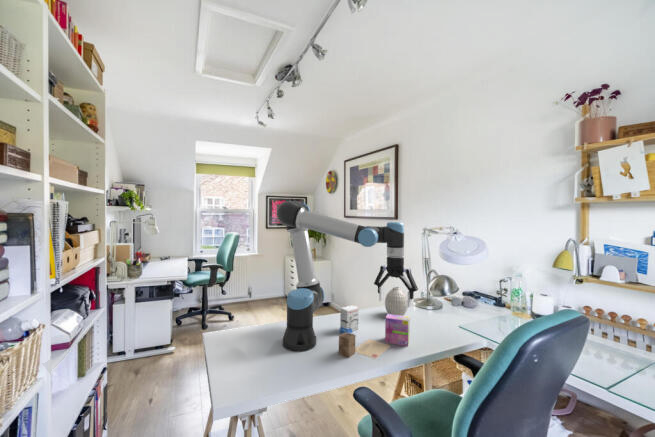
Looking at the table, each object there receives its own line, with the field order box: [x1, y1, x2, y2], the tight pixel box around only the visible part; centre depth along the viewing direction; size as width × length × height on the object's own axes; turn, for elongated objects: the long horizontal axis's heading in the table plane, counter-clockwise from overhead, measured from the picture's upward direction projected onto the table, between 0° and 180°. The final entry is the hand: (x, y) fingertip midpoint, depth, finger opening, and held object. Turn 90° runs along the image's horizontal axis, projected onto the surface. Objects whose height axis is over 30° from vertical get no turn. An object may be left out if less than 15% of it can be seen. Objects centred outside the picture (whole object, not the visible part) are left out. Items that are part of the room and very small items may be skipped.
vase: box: [384, 286, 409, 316], centre depth 171 cm, size 13×13×17 cm
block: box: [338, 332, 357, 359], centre depth 126 cm, size 5×5×8 cm
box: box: [384, 313, 411, 347], centre depth 138 cm, size 10×6×12 cm, turn 70°
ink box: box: [339, 304, 360, 334], centre depth 150 cm, size 9×5×12 cm, turn 131°
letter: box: [355, 338, 391, 360], centre depth 131 cm, size 11×15×1 cm
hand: (395, 303), depth 136 cm, fingers open, 13 cm apart
